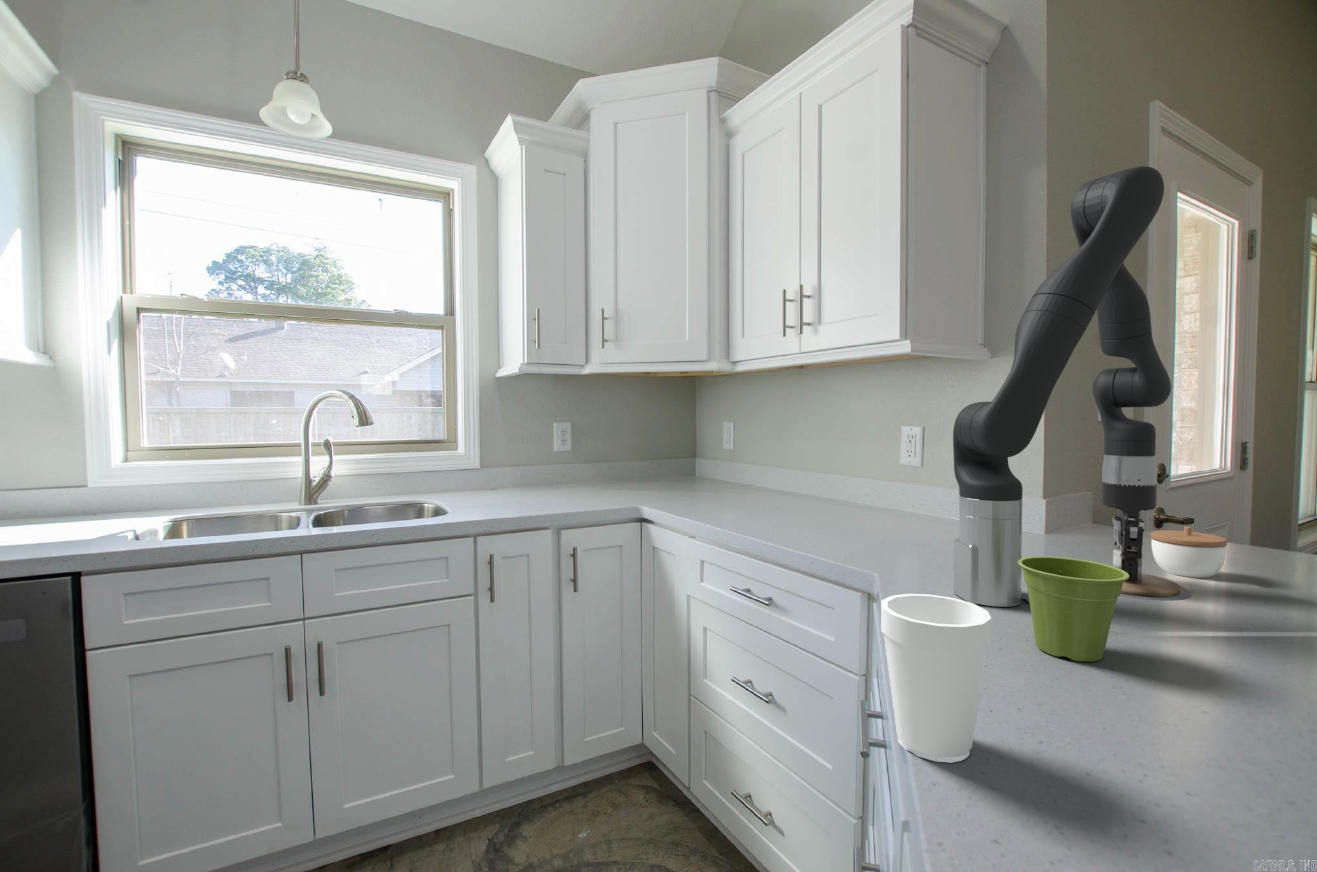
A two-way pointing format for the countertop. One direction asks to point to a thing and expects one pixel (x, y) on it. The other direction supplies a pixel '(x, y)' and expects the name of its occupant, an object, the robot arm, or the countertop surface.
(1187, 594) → the rubber mat
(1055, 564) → the plant pot
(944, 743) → the foam cup
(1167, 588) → the walnut lid
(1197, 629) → the countertop surface
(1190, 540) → the lidded jar
